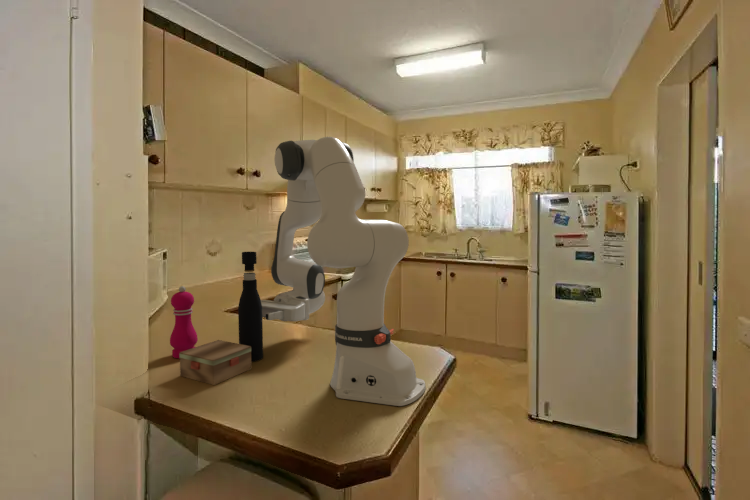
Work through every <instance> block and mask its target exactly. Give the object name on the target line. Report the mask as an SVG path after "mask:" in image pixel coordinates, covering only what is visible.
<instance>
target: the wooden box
mask: <svg viewBox="0 0 750 500" xmlns="http://www.w3.org/2000/svg"><path fill="white" fill-rule="evenodd" d="M194 347H195V348H192V349H189V350H185V351H182V352H180V354H179V358H180V359H179V358H178V359H179V375H180V377H183V378H187V379H191V380H193V381H198V382H202V383H204V384H209V385H213V386H215V385H218V384H219V383H222V382H224V381H226V380H228V379H232V378H233V377H236V376H238V375H241V374H242V373H245V372H247V371H249V370H250V371H251V369H252V362H251V346H247V345H242V344H239V343H238V342H237V343H236V342H231V341H226V340H220V339H216V340H213V341H211V342H208V343H205V344H202V345H198V346H194Z"/></svg>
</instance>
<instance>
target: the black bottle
mask: <svg viewBox="0 0 750 500" xmlns="http://www.w3.org/2000/svg"><path fill="white" fill-rule="evenodd" d="M241 264H242V265H244V273H243V280H242V291H241V293H240V298H239V302H238V307H237V311H238V312H237V313H238V316H237V317H238V319H237V321H238V344H242V345H247V346H251V363H252V362H258V361H261V360H262V359H264V337H263V336H264V335H263V332H264V331H263V317H262V304H261V300H262V299H261V297H260V294H259V292H258V286H257V285H258V280H257V279H256V276H257V274H256V272H255V264H257V252H256V251H242V252H241Z"/></svg>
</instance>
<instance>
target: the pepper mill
mask: <svg viewBox="0 0 750 500" xmlns="http://www.w3.org/2000/svg"><path fill="white" fill-rule="evenodd" d="M194 302H195V297H194V295H193V294H192V293H191V292H190V291H186V287H185V286H184V285H183V286H179V288H178V292H176V293H174V294H173V295H172V296H171V299H170V304H171V307H173V309H172V311H173V314H172V315H174V317H175V318H174V327H173V329H172V332H171V334H170V338H169V344H170V346H171V347H172V348H173V349H172V352H171V353H172V355H171V356H172V358H173V357H174V358H173V359H179V360H180V358H179V354H180V352H182V351H185V350H189V349H192V348H195V347H196V346H195V345H197V343H198V334H197V331H196V329H195V327H194V325H193V323H192V313H193V311H194V310H193V307H192V306H193V305H194V304H195V303H194Z"/></svg>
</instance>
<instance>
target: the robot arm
mask: <svg viewBox="0 0 750 500" xmlns="http://www.w3.org/2000/svg"><path fill="white" fill-rule="evenodd" d="M354 159H355V158H354V153H353V150H352V148H351V147H350V145H349V144H348V143H346V142H343V141H341V140H339V139H338V138H336V137H333V136H324V137H320V138H319V139H304V140H303V139H302V140H301V139H300V140H286V141H283V142H280V143H279V144H278V145H277V147H276V148H275V154H274V166H275V169H276V172H277V174H278V175H279V176H280V178H282V179H283V180H287V185H286V186H287V187H286V189H287V190H286V207H285V210H284V211H283V212H281V214H280V216H279V219H278V223H277V231H276V240H275V247H274V255H273V256H274V257H273V261H272V264H271V270H270V274H271V277H272V280H273V281H274V283H275V284H276V285H280V286H284V287H291V288H292V290H289V291H285V292H281V293H278V294H276V296H275V297H274V299H273V300H269V299H260V300H261V304H262V318H265V320H267V321H273V320H280V321H282V322H298V321H307V320H309V319H310V314H312V313H315V312H317V311H318V310H319V309H320V308H322V306H324V304H325V301H326V295H325V292H324V288H325V283H326V276H325V271H324V269H323V267H325V268H326V267H327V268H332V269H345V268H346V269H347V268H355V269H354V272H353V274H352V276H351V278H350V280H349V281H347V282H346V283H345V284H343V285H342V286H341V287H340V288H339V290H338V292H337V295H336V324H335V325H334V328H335V329H334V339H335V340H334V341H335V346H336V349H335V357H334V358H335V359H334V364H333V365H334V367H333V372H332V375H331V380H330V384H329V385H330V387H331V388H332V389H333V390H334V391H335V396H336V398H337V399H342V400H343V399H345V400H351V401H358V402H365V403H372V404H373V403H374V404H379V405H387V406H395V407H397V406H398V407H404V406H407V405H409V404H411V403H414V402H415V401H417V400H418V399H420V398H421V397H422V395H423V394H424V393H425V391H426V390H427V389H426V388H427V387H426V382H425V380H424V379H422V378H418V377H417V374H416V366H415V364H414V361H413V360H412V358H411V357H410V356H408V355H407V354H406V353H405V352H403V351H402V350H401V349H400V348H399V347H398V346H397V345H395V344H394V342H392V341H391V335H393V334H394V328H391V329H388V327H387V326H386V324H385V323H384V322H385V319H384V318H385V314H384V313H385V298H386V297H385V296H386V290H387V286H388V283H389V281H390V277H391V275H392V272H393V271H394V270H395V268H396V266H397V265H398V263H399V262H400V261H401V260H403V258H405V256H406V254H407V252H408V249H409V246H410V245H409V243H410V242H409V241H410V240H409V236H408V232H407V230H406V228H405V227H404V226H403V225H402V224H401V223H398V222H394V221H391V220H387V219H381V218H380V219H377V218H376V219H375V218H374V219H370V218H369V219H366V218H364V219H362V218H359V217H358V215H357V214H356V212H357V211H358V210H359V209H361V207H362V206H363V204H364V202H365V199H366V189H365V186H364V185H363V182H362V179H361V177H360V174H359V171H358V169H357V167H356V164H355V162H354ZM310 226H313V227H311V229H310V230H309V233H308V235H307V240H306V247H307V252H308V255H309V257H310V258H311V259H312V261H313V262H312V261H308V260H304V259H299V258H296V257H295V255H294V254H293V250H294V249H293V247H294V241H295V235H296V232H297V230H298V229H302V228H303V229H304V228H307V227H310Z"/></svg>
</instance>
